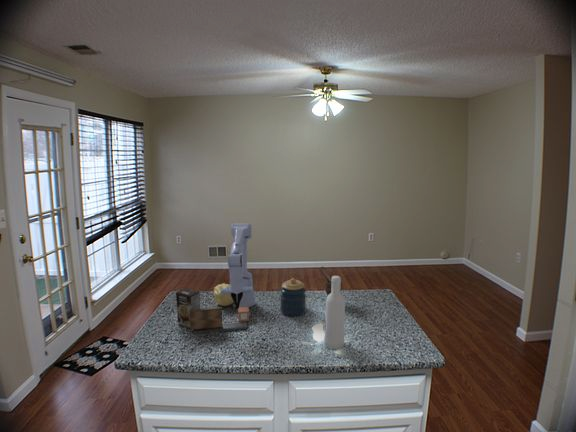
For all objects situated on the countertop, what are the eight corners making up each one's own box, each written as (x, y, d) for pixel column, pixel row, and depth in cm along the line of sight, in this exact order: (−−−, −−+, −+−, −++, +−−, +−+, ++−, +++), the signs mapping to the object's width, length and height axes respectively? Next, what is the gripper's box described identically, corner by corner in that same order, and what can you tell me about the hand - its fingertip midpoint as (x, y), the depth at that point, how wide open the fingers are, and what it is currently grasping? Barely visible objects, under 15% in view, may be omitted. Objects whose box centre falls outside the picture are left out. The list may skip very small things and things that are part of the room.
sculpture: (211, 301, 182) (210, 282, 180) (232, 297, 188) (232, 278, 186) (217, 310, 172) (216, 290, 170) (239, 305, 178) (239, 286, 176)
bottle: (331, 337, 147) (333, 272, 142) (347, 343, 142) (349, 276, 137) (321, 345, 141) (322, 277, 136) (337, 352, 136) (339, 282, 131)
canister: (306, 305, 177) (306, 274, 174) (305, 317, 164) (305, 283, 161) (282, 304, 178) (281, 273, 175) (278, 316, 166) (278, 282, 162)
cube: (248, 315, 167) (248, 306, 166) (249, 321, 162) (248, 311, 161) (238, 316, 166) (238, 307, 165) (238, 322, 161) (238, 312, 160)
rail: (246, 324, 158) (246, 322, 158) (247, 328, 154) (246, 326, 154) (193, 329, 154) (193, 327, 154) (192, 334, 150) (192, 331, 150)
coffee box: (177, 324, 159) (175, 292, 156) (187, 318, 164) (185, 287, 161) (191, 328, 154) (189, 296, 151) (201, 322, 160) (199, 290, 157)
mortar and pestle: (320, 307, 175) (320, 271, 171) (318, 300, 184) (319, 265, 180) (342, 307, 175) (343, 270, 171) (339, 300, 184) (340, 265, 180)
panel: (222, 325, 155) (221, 306, 153) (222, 326, 153) (221, 308, 151) (191, 328, 152) (189, 309, 151) (190, 329, 151) (189, 311, 149)
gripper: (219, 284, 146) (221, 313, 149) (253, 281, 148) (253, 310, 151) (220, 278, 153) (221, 305, 155) (252, 275, 155) (252, 303, 158)
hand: (237, 307), depth 154 cm, fingers closed
